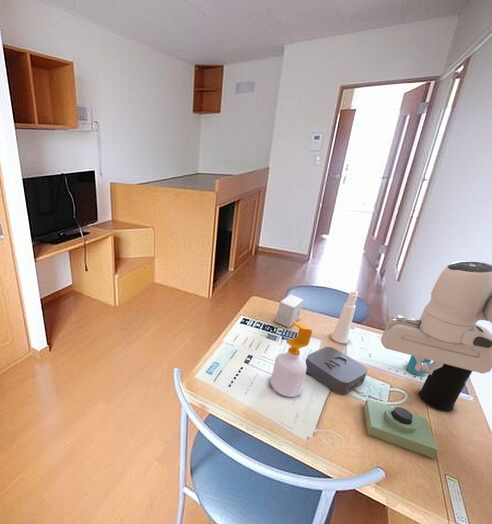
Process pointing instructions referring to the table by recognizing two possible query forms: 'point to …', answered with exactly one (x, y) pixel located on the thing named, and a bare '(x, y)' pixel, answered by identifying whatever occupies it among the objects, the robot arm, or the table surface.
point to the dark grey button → (402, 415)
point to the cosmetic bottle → (345, 319)
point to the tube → (413, 363)
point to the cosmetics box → (289, 310)
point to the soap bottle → (291, 365)
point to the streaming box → (335, 370)
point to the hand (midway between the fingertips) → (422, 371)
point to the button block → (399, 429)
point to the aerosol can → (444, 387)
